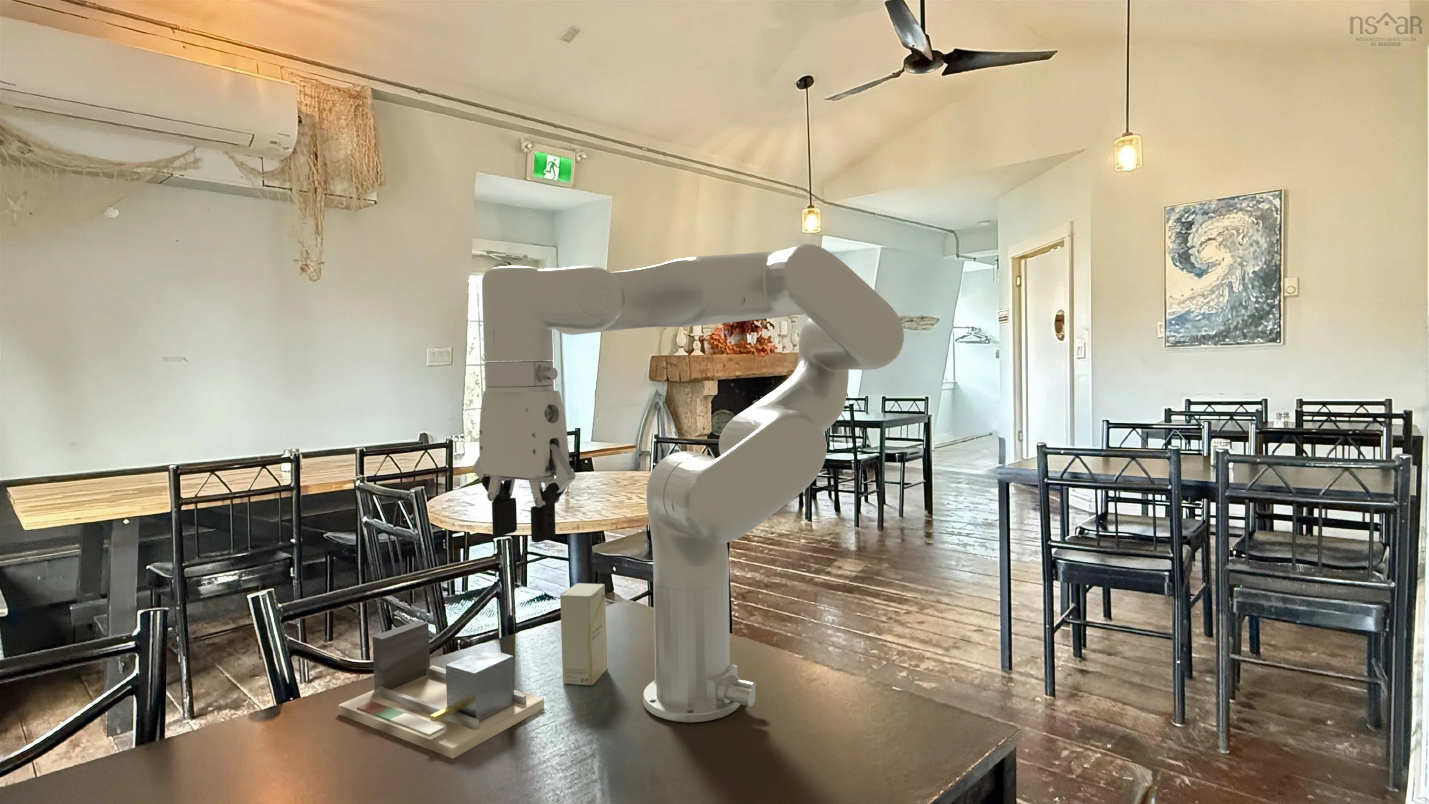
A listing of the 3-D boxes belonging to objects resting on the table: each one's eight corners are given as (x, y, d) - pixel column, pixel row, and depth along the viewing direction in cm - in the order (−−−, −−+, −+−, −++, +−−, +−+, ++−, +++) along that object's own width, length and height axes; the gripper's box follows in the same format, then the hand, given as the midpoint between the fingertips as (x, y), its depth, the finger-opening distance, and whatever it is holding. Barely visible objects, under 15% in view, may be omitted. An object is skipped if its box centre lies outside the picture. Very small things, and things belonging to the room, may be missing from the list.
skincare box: (592, 687, 102) (590, 596, 101) (561, 684, 103) (558, 595, 102) (608, 668, 108) (606, 583, 107) (578, 666, 109) (576, 581, 108)
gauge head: (514, 703, 94) (513, 655, 94) (447, 738, 86) (446, 686, 85) (486, 694, 97) (484, 648, 97) (418, 727, 88) (416, 676, 88)
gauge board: (544, 708, 96) (542, 643, 95) (453, 758, 84) (450, 685, 83) (433, 673, 107) (430, 615, 106) (338, 714, 95) (335, 649, 94)
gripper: (599, 377, 85) (603, 538, 86) (491, 377, 94) (496, 523, 95) (552, 379, 79) (557, 553, 80) (441, 378, 88) (446, 535, 89)
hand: (524, 535), depth 88 cm, fingers open, 5 cm apart
